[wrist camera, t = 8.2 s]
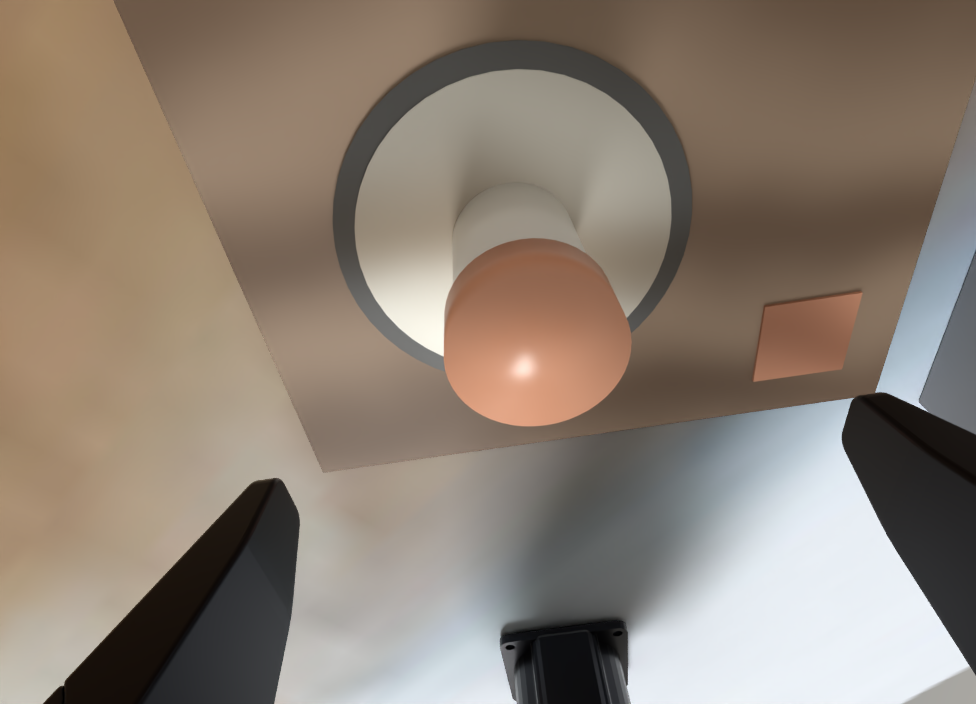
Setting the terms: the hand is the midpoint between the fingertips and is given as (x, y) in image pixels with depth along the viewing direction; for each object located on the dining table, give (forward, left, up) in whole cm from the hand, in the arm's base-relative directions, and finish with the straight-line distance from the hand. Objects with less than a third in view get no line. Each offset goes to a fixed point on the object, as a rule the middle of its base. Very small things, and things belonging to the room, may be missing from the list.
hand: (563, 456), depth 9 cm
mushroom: (0, 0, -9) cm, 9 cm away
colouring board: (0, -2, -10) cm, 10 cm away
